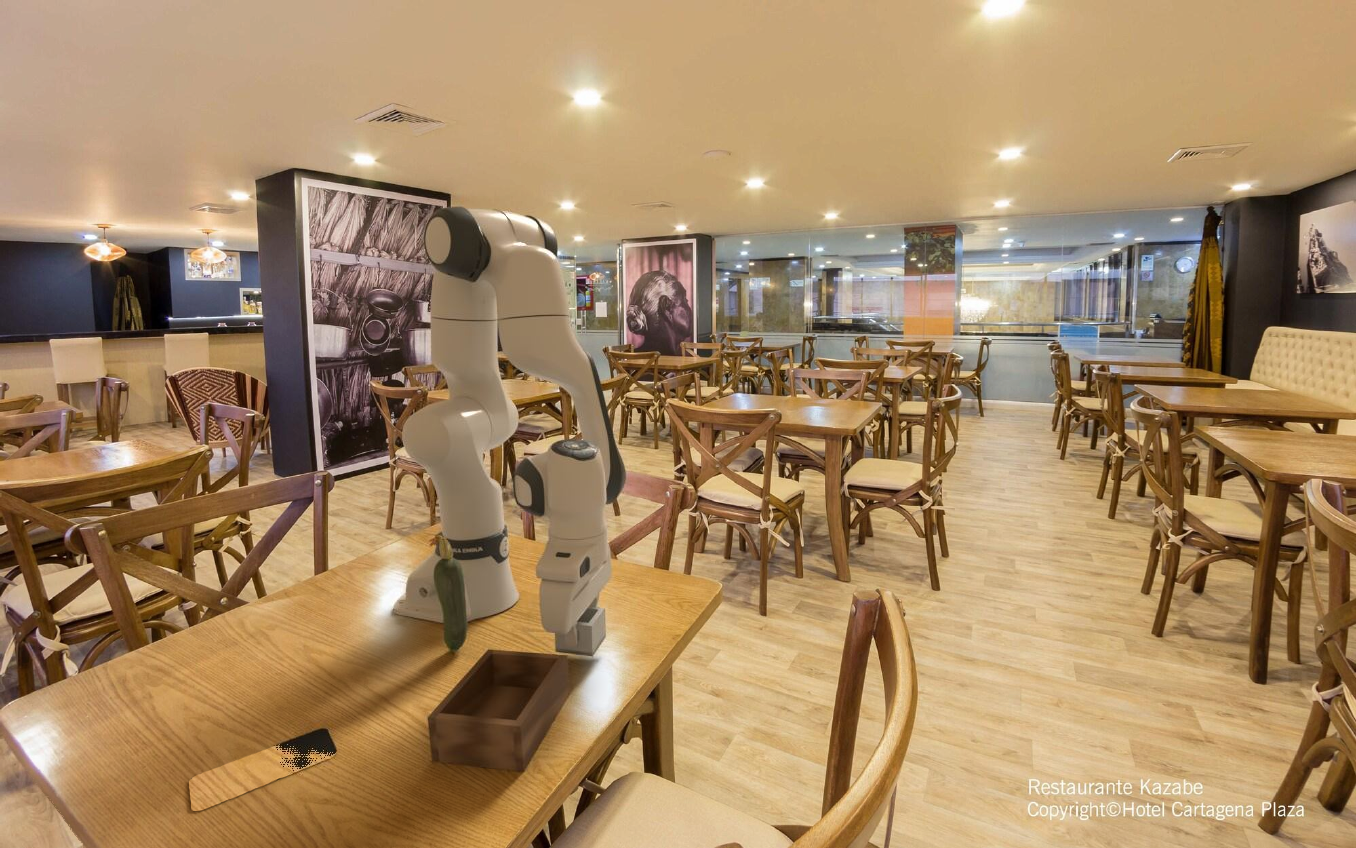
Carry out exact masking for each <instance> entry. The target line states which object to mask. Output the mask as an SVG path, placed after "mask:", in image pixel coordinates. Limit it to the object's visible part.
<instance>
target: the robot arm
mask: <svg viewBox="0 0 1356 848" xmlns="http://www.w3.org/2000/svg"><path fill="white" fill-rule="evenodd" d="M423 245H424V252H425V255H426V257H427V259H428V261H429V262H430V263H431V265H432V267H434V274H433V279H432V283H431V284H432V286H431V292H430V293H431V295H430V359H431V363H432V364H433V365H434V367H435V369H437V370H438V371H439V372H441V373H442V374H443V377H444V378H445V382H446V385H447V388H448V393H449V397H448V399H445V400H441V401H436V402H432V403H429V404H428V405H426V406H424V407H422V408H420V409H418V411H415V412H414V413H413V414H411V415H410V416H409V417H408V418H407V419H406V421H405V422H404V424H403V427H402V433H401V438H402V439H401V440H402V444H403V447H404V450H405V453H407V456H409V458H410V459H411V460H412V461H414V462H415V463H416V464H417V465H419V466H421V467H422V468H423V469H425V471H426V473H427V474H428V476H429V477H430V479H431V481H432V484H433V487H434V489H435V491H436V492H435V493H436V495H437V501H438V508H439V516H440V525H441V531H440V532H438V533H437V534H435V535H434V537H433V538H435V537H436V536H437V535H439V536H442V537H444V538H446V540H447V541H448V542H449V543H450V545H451V549H452V551H453V558H455V559H456V560H457V561H458V562H459V563H460V565H461V567H462V570H463V576H464V584H465V598H466V615H467V623H468V622H471V621H473V620H476V619H477V620H478V619H481V618H485V617H489V616H492V615H495V614H497V615H498V613H501V612H504V611H506V610H508V609H510V608H511V607H512V606H514V605H515V604H516V603H517V601H518V600H519V598H520V593H519V591H518V589H517V586H516V584H515V580H514V577H513V573H512V570H511V564H510V560H509V554H510V544H509V543H510V541H509V534H508V527H507V525H506V524H505V517H504V515H505V514H504V502H503V492H502V491H503V490H502V487H501V485H500V483H499V482H498V481H497V480H495V479H494V478H491V477H490V475H489V473H488V471H487V468H486V465H485V462H484V453H486V452H488V451H491V450H493V449H496V448H498V447H500V446H501V445H503V444H504V443H505V442H506V441H507V440H509V438H511V437H512V436H513V435H514V434H515V432H516V431H517V429H518V426H519V421H520V419H519V411H518V408H517V407H516V405H515V403H514V401H512V399H511V398H510V397H509V396H508V395H507V392H506V390H505V388H504V384H503V381H502V377H501V372H500V368H499V367H500V366H499V358H498V357H499V356H498V355H499V354H498V349H499V348H498V336H499V341H500V345H501V350H502V353H503V354H504V356H505V358H506V359H507V360H508V362H510V364H511V365H512V366H514V367H515V368H516V369H518V370H519V371H520V372H523V373H524V374H527V375H528V376H531V377H534V378H537V379H540V380H543V381H547V382H549V383H553V384H555V385H557V386H559V387H560V388H562V389H564V390H565V391H566V392H567V393H568V394H569V396H570V398H571V399H572V402H573V405H574V408H575V409H574V410H575V413H576V417H577V421H578V425H579V429H580V432H581V438H582V439H577V438H565V439H561V440H557V441H555V442H553V443H552V444H551V445H550V446H549V447H548V448H547V450H546V451H545V452H542V453H539V454H538V453H537V454H535V455H531V456H529V457H526V458H523V459H522V460H521V461H520V462H519V464H518V465H517V467H516V468H515V471H514V473H513V476H512V487H513V488H512V489H513V495H514V501H515V503H516V505H517V506H519V508H520V509H521V510H523V511H525V512H526V513H528V514H530V515H532V516H535V517H540V518H541V517H546V518H547V519H548V523H549V524H548V530H547V536H548V538H547V539H548V540H547V541H546V543H545V548H544V551H543V553H542V555H541V556H540V558H539V559H538V561H537V564H536V567H535V576H536V578H537V579H540V583H539V590H538V591H539V592H538V598H539V600H538V601H539V612H540V621H541V626H542V628H543V629H544V631H545V632H546V633H548V634H549V633H550V634H555V633H556V634H564V635H565V644H566V645H567V646H576V644H577V643H578V641H579V640H580V639H579V631H577V630H576V625H577V621H578V619H579V618H580V617H581V616H582V614H583V613H584V612H585V610H586V609H587V608H588V607H589V606H593V607H598V603H599V600H600V594H601V591H602V590H603V589H604V588H605V587H606V585H608V583H609V581H610V580H611V577H612V571H613V570H612V569H613V568H612V558H611V557H612V556H611V555H612V554H611V547H610V544H609V541H608V523H607V520H606V517H605V509H606V506H607V505H611V504H613V503H614V502H615V501H616V500H617V498H618V497H619V496H620V495H621V493H622V491H623V489H624V487H625V484H626V480H627V472H626V468H625V464H624V460H623V458H622V456H621V453H620V451H619V448H618V446H617V443H616V440H615V436H614V430H613V428H612V427H613V426H612V422H611V420H610V419H611V418H610V416H609V410H608V407H607V402H606V399H605V394H604V391H603V387H602V382H601V379H600V375H599V372H598V369H597V366H596V363H595V361H594V359H593V357H592V355H591V354H590V352H588V351H587V350H585V349H583V348H582V346H581V345H580V343H579V341H578V340H577V338H576V335H575V333H574V331H573V328H572V323H571V317H570V316H571V313H570V304H569V299H568V293H567V288H566V282H565V280H564V279H565V278H564V275H563V271H562V268H561V264H560V261H559V259H558V249H559V248H558V247H559V246H558V239H557V237H556V233H555V231H554V230H553V228H552V227H551V226H550V225H549V224H548V223H546V222H545V221H543V220H542V219H540V218H538V217H535V216H532V215H528V214H527V215H523V214H519V213H516V212H511V211H507V210H503V209H498V208H497V209H496V208H494V209H487V208H486V209H482V208H465V207H463V206H448V207H443V208H439V209H437V210H435V211H434V212H433V213H432V214H431V215H430V217H429V219H428V220H427V223H426V225H425V227H424V234H423ZM433 538H431V539H430V540H429V543H430V544H429V547H432V546H433V545H434V539H433ZM434 546H435V549H434V552H432V553H431V554H430V555H429V556H428V557H426V558H424V560H423V561H422V562H421V563H420V564H418V566H416V567H414V569H413V570H412V571H411V572H410V573H409V575H408V577H407V581H406V587H405V592H404V593H403V594H402V595H401V596H400V597H399V598H398V599H396V601H395V602H394V604H393V605H394V606H393V614H395V615H399V616H405V617H408V618H409V617H410V618H416V619H420V620H425V621H431V622H435V623H441V624H443V612H442V607H441V603H440V601H439V598H438V595H437V591H436V587H435V583H434V568H435V565H436V564H437V562H438V561H439V560H441V559H442V557H440V556H441V555H440V550H439V542H438V541H437V543H436V545H434Z"/></svg>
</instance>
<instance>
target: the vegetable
mask: <svg viewBox="0 0 1356 848" xmlns="http://www.w3.org/2000/svg"><path fill="white" fill-rule="evenodd" d="M434 537H435V536H434ZM434 537H433V538H432V539H434V546H436V543H437V541H438V542H439V550H440V555H441V556H440V557H442V559H441V560H439V561H438V562H437V564H436V565H435V568H434V583H435V587H436V591H437V595H438V598H439V601H440V603H441V607H442V612H443V623H442V625H443V627H442V628H443V640H444V643H445V645H446V649H448V652H449V653H453V654H454V653H455V654H456V653H457V652H458V651H459V650H460V648H462V647H463V645H464V643H465V641H466V639H467V633H468V622H467V615H466V598H465V584H464V576H463V570H462V567H461V565H460V563H459V562H458V561H457V560H456V559H455V558H453V551H452V549H451V545H450V543H449V542H448V541H447V540H446V538H444V537H442V536H439V535H437V536H436V537H435V538H434Z"/></svg>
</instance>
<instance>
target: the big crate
mask: <svg viewBox="0 0 1356 848" xmlns="http://www.w3.org/2000/svg"><path fill="white" fill-rule="evenodd" d="M568 661H569V660H568V654H557V653H556V654H555V653H543V652H542V653H541V652H530V651H529V652H527V651H516V650H514V651H513V650H504V649H502V650H501V649H489V648H488V649H487V650H486V651H485V652H484V653H483V655H481V657H480V658H479V659H478V660H477V661H476V662H475V664H474V665H472V667H471V668H470V669H469V670H468V671H467V672H466V674H464V676H463V677H462V678H461V679H460V680H459V681H458V682H457V684H456V685H454V687H453V688H452V689H451V691H450V692H449V693H448V694H447V695H446V696H445V697H444V698H443V699H442V701H441V702H440V703H438V705H437V706H436V707H435V708H434V709H433V711H432V712H430V714H429V715H428V716H427V718H426V719H427V725H428V735H429V745H430V752H431V753H430V755H431V762H433V763H444V764H452V765H460V766H462V765H463V766H471V767H480V768H489V769H495V770H496V769H498V770H508V771H514V772H525V771H526V769H527V768H528V766H529V764H530V762H532V759H533V757H534V755H535V754H536V752H537V751H538V748H539V747H540V746H541V744H542V742H543V740H544V738H545V737H546V735H547V733H548V732H549V730H550V728H551V726H552V725H553V723H554V721H555V720H556V718H557V716H558V715H559V713H560V711H561V710H562V708H563V706H564V704H565V703H566V702H567V699H568V698H569V696H570V676H569V675H570V673H569V662H568Z"/></svg>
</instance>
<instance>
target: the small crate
mask: <svg viewBox="0 0 1356 848" xmlns="http://www.w3.org/2000/svg"><path fill="white" fill-rule="evenodd" d="M576 630H577V631H579V639H580V640H579V641H578V643H577V644H576V646H567V645H566V644H565V635H564V634H556V633H554V647H555V653H560V654H562V653H563V654H567V655H568V654H569V655H577V656H578V655H579V656H585V657H592V658H593V657H594V655H595V654H596V653H597V651H598V649H599V648H600V646H601V645H602V643H603V642H604V641H605V639H606V637H607V631H606V630H607V629H606V607H603V606H602V607H601V606H597V607H593V606H589V607H588V608H587V609H586V610H585V612H584V613H583V614H582V616H581V617H580V618H579V619H578V621H577V625H576Z"/></svg>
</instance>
